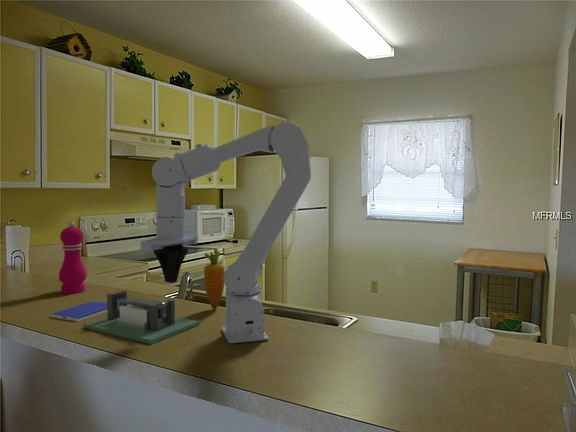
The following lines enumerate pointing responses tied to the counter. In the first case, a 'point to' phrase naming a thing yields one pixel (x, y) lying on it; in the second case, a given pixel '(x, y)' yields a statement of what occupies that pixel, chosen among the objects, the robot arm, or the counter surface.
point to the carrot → (214, 279)
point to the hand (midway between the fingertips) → (171, 281)
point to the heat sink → (138, 317)
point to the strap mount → (153, 310)
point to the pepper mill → (72, 261)
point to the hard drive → (82, 311)
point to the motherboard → (147, 336)
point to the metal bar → (140, 302)
